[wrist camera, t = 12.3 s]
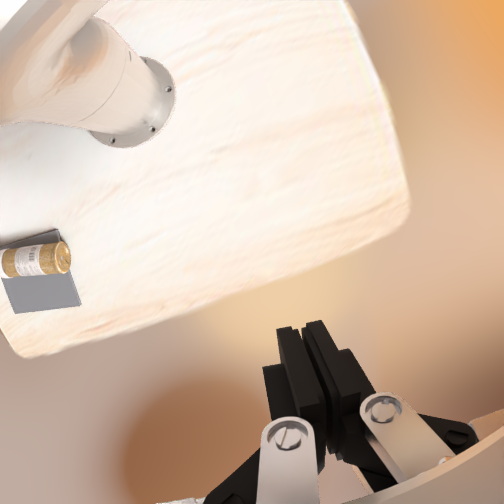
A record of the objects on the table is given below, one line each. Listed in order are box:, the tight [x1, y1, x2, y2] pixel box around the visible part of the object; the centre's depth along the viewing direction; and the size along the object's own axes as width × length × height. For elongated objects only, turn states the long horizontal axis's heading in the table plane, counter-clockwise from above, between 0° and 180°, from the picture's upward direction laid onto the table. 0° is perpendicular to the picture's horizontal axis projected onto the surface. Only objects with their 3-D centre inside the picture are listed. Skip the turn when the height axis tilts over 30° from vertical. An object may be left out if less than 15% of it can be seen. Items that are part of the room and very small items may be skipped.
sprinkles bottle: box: [0, 241, 71, 278], centre depth 35 cm, size 5×4×14 cm
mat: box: [0, 230, 81, 314], centre depth 38 cm, size 16×12×1 cm
